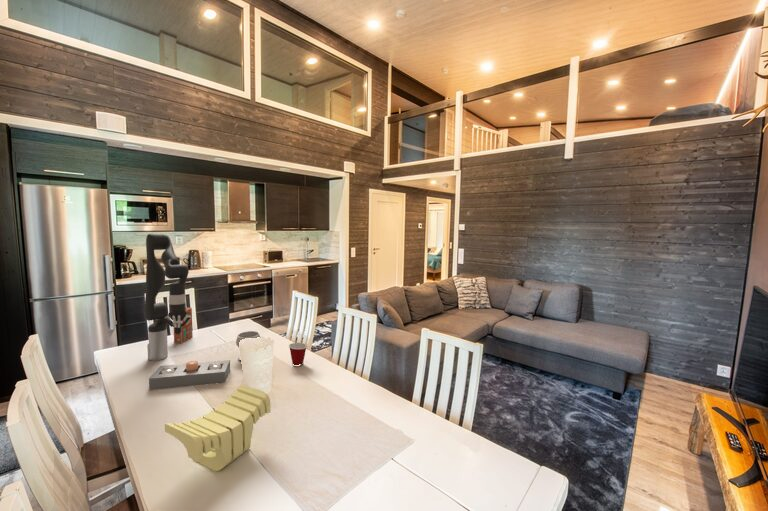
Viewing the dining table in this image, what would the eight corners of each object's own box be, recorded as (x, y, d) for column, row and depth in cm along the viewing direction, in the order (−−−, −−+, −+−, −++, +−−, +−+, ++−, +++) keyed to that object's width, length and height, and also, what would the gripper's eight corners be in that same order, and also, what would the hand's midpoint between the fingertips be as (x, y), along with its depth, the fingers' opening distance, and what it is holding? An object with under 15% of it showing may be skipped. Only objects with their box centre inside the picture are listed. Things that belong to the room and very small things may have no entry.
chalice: (233, 363, 193) (233, 338, 192) (239, 354, 207) (238, 331, 205) (258, 362, 196) (258, 337, 194) (262, 353, 209) (262, 330, 208)
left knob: (160, 382, 166) (159, 372, 165) (164, 377, 171) (163, 368, 171) (172, 381, 167) (172, 371, 167) (176, 376, 173) (176, 367, 172)
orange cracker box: (194, 336, 236) (181, 343, 221) (185, 336, 236) (171, 343, 221) (193, 307, 234) (180, 312, 219) (184, 306, 234) (170, 312, 219)
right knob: (208, 377, 172) (208, 368, 171) (210, 373, 177) (210, 364, 177) (220, 376, 173) (219, 367, 173) (222, 372, 179) (222, 363, 178)
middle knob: (184, 375, 168) (184, 365, 168) (187, 370, 174) (187, 361, 173) (196, 374, 170) (196, 364, 170) (199, 369, 175) (199, 360, 175)
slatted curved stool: (198, 492, 101) (196, 438, 100) (166, 474, 108) (164, 423, 107) (270, 437, 128) (270, 393, 127) (241, 425, 135) (241, 384, 134)
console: (149, 390, 161) (148, 378, 160) (160, 376, 175) (160, 365, 174) (225, 382, 170) (225, 371, 169) (230, 370, 184) (229, 360, 184)
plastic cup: (310, 365, 193) (310, 346, 191) (292, 370, 186) (292, 349, 185) (303, 359, 201) (303, 340, 200) (286, 363, 195) (286, 343, 194)
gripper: (193, 300, 179) (194, 331, 181) (166, 300, 176) (166, 331, 178) (189, 303, 172) (189, 335, 174) (160, 304, 168) (161, 336, 170)
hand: (178, 333), depth 176 cm, fingers closed
